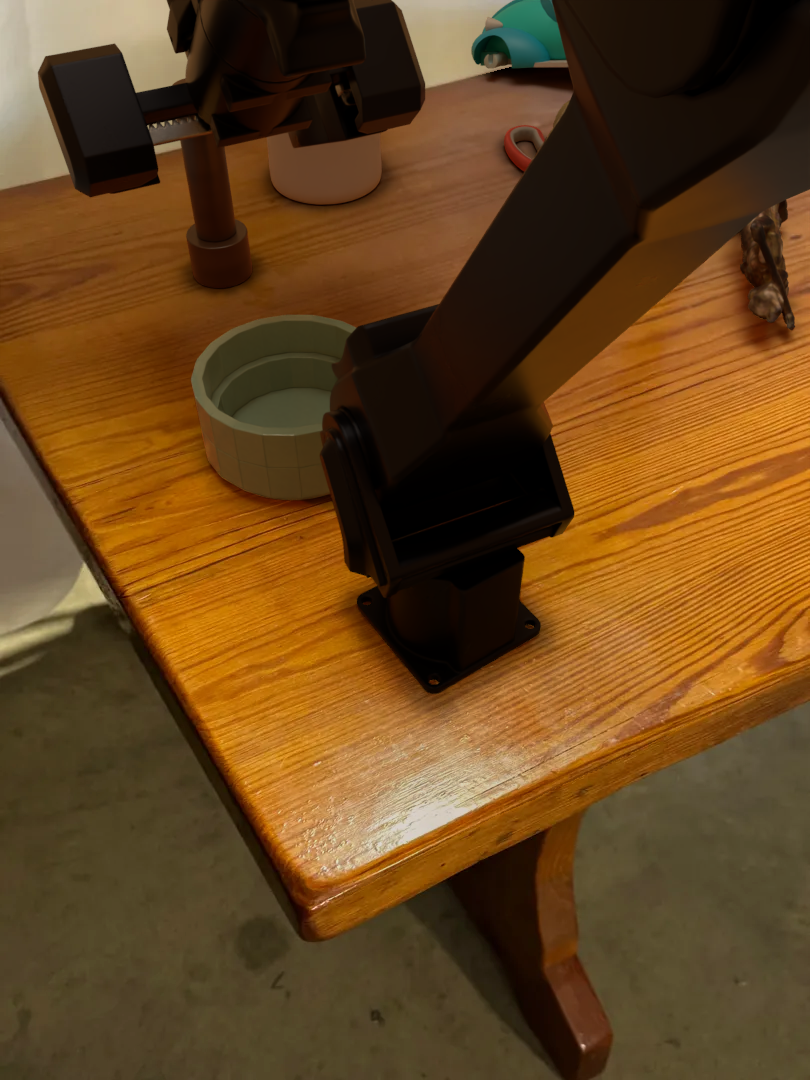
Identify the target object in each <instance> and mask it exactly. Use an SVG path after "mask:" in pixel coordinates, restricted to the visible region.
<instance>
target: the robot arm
mask: <svg viewBox="0 0 810 1080" xmlns="http://www.w3.org/2000/svg"><path fill="white" fill-rule="evenodd" d="M166 3H167V5H168V9H169V10H168V11H169V12H168V18H167V24H166V31H167V34H168V38H169V40H170V43H171V46H172V48H173V49H172V50H173V51H174V53H175V54H183V53H185V57H186V59H187V62H186V64H185V65H186V66H185V77H184V79H185V78H186V83H182V84H177V85H173V84H172V85H168V86H163V87H158V88H152V89H148V90H142V91H138V92H136V88H135V86H134V84H133V80H132V78H131V74H130V71H129V69H128V65H127V63H126V60H125V57H124V55H123V52H122V51H121V49H120V48H119V47H118V45H117V44H116V43H109V44H105V45H98V46H94V47H87V48H82V49H77V50H71V51H66V52H61V53H56V54H55V53H54V54H50V55H45V56H44V58H43V60H42V62H41V64H40V67H39V69H38V71H37V79H38V89H39V92H40V94H41V97H42V99H43V102H44V105H45V108H46V111H47V114H48V116H49V119H50V123H51V125H52V128H53V131H54V134H55V137H56V140H57V142H58V146H59V149H60V150H61V154H62V156H63V159H64V163H65V165H66V167H67V171H68V173H69V176H70V178H71V179H70V180H71V181H72V184H73V187H74V190H76V191H78V192H80V193H81V194H84V196H86V197H89V198H93V197H98V196H102V195H107V194H110V195H114V194H120V193H125V192H129V191H133V190H138V189H141V188H147V187H150V186H155V185H159V184H161V179H160V176H159V164H158V160H157V155H156V149H155V147H157V146H161V145H166V144H170V143H175V142H180V140H185V139H189V138H194V137H199V136H203V135H208V134H212V133H213V136H214V139H215V142H216V145H217V148H221V147H229V146H234V145H239V144H242V143H247V142H252V141H256V140H260V139H265V138H266V139H267V137H270V136H275V135H279V134H284V133H288V135H289V138H290V141H291V144H292V146H293V148H300V147H307V146H314V145H320V144H327V143H335V142H341V141H347V140H352V139H356V138H360V137H365V136H369V135H373V134H378V133H380V134H383V133H385V132H387V131H388V130H391V129H396V128H400V127H404V126H408V125H411V124H412V123H413V121H414V119H415V118H416V117H417V115H418V114H419V113H420V112H421V110H422V107H423V105H424V103H425V101H426V81H425V78H424V75H423V72H422V68H421V66H420V62H419V58H418V56H417V54H416V50H415V47H414V44H413V41H412V38H411V35H410V32H409V28H408V24H407V22H406V19H405V16H404V13H403V10H402V9H401V8H400V6H399V5H397V3H396V2H395V1H393V0H166ZM552 4H553V8H554V12H555V16H556V20H557V24H558V28H559V32H560V36H561V40H562V44H563V48H564V52H565V56H566V60H567V64H568V67H567V68H568V71H569V76H570V79H571V84H572V87H573V89H572V94H571V97H570V99H569V100H570V101H569V100H568V101H569V103H568V105H567V106H566V108H565V109H564V111H563V113H562V114H561V116H560V117H559V119H558V120H557V122H556V123H555V125H554V127H553V126H552V128H551V130H550V131H549V133H548V134H547V136H546V137H545V141H544V142H543V144H542V145H541V147H540V148H539V150H538V151H537V150H536V151H537V152H536V153H535V154H534V156H533V157H532V158H531V159H532V161H531V162H530V164H529V165H528V167H527V168H526V170H525V172H524V171H523V173H522V175H521V176H520V178H519V179H518V181H517V182H516V184H515V185H514V187H513V189H512V190H511V192H510V194H509V195H508V197H507V198H506V199H505V201H504V203H503V204H502V205H501V208H500V209H499V210H498V212H497V213H496V215H495V216H494V218H493V219H492V221H491V223H490V224H489V226H488V227H487V229H486V231H485V232H484V233H483V235H482V237H481V238H480V240H479V242H477V245H476V246H475V247H474V249H473V251H472V252H471V254H470V255H469V257H468V258H467V260H466V261H465V263H464V264H463V266H462V267H461V269H460V271H459V273H458V274H457V275H456V276H455V279H454V280H453V282H452V283H451V285H450V287H449V288H448V290H447V291H446V292H445V294H444V296H443V298H442V299H441V300H440V302H439V303H437V304H433V305H429V306H426V307H423V308H422V307H421V308H419V309H415V310H412V311H408V312H404V313H401V314H397V315H394V316H390V317H386V318H382V319H378V320H375V321H372V322H369V323H368V322H367V323H364V324H361V325H358V326H356V329H355V330H354V331H353V332H352V333H351V334H350V336H349V337H348V338H347V339H346V343H345V347H344V352H343V356H342V359H341V360H340V362H337V363H333V364H331V367H332V371H333V373H334V374H335V376H336V377H337V379H338V380H337V381H336V383H335V384H334V386H333V389H332V391H331V395H330V412H327V413H325V414H324V415H323V418H322V430H323V431H321V432H320V437H321V442H322V446H323V448H322V450H321V452H320V455H319V456H320V461H321V464H322V467H323V471H324V474H325V478H326V481H327V485H328V488H329V492H330V494H329V495H330V499H331V502H332V505H333V509H334V512H335V515H336V520H337V522H338V526H339V530H340V534H341V540H342V548H343V549H342V550H343V562H344V564H345V565H346V568H347V569H348V571H349V572H350V573H354V574H356V575H361V576H365V577H366V579H370V578H371V579H372V580H373V582H374V583H375V585H376V586H375V585H374V586H373V587H371V588H369V589H367V590H366V591H363V592H361V593H360V594H359V595H358V596H357V598H356V609H357V610H358V612H359V613H360V615H361V616H362V617H363V618H364V619H365V620H366V621H367V623H368V624H369V625H370V627H371V628H372V629H373V630H374V632H375V633H376V634H377V635H378V636H379V637H380V638H381V639H382V641H383V642H384V644H385V645H386V646H387V647H388V648H389V650H390V651H391V652H392V653H393V654H394V655H395V657H396V658H397V659H398V660H399V662H401V664H402V665H403V666H404V667H405V669H406V670H407V671H408V672H409V674H411V676H412V677H413V678H414V680H415V681H416V682H417V683H418V684H419V685H420V687H421V688H422V689H423V690H424V691H425V692H426V693H427V694H430V695H438V694H440V693H442V692H444V691H445V690H447V689H449V688H451V687H453V686H454V685H456V684H458V683H459V682H461V681H463V680H464V679H466V678H467V677H469V676H471V675H473V674H475V673H477V672H478V671H480V670H481V669H483V668H485V667H487V666H488V665H490V664H491V663H493V662H495V661H498V660H499V659H500V658H502V657H503V656H505V655H508V654H509V653H510V652H513V651H514V650H515V649H517V648H519V647H521V646H523V645H524V644H526V643H528V642H530V641H531V640H533V639H535V638H536V637H538V636H539V635H540V633H541V628H542V623H541V621H540V619H539V618H538V617H537V616H536V615H535V614H534V613H533V612H532V611H531V610H530V609H529V608H528V607H527V606H526V605H525V603H523V602H522V601H521V592H522V584H523V575H524V567H525V559H526V555H525V554H524V553H523V552H522V551H521V550H520V549H519V548H521V547H524V546H526V545H527V546H528V545H529V544H532V543H535V542H538V541H541V540H543V539H546V538H551V539H553V538H555V537H558V536H560V535H564V532H566V529H567V528H568V527H569V525H570V523H571V522H572V521H573V519H575V518H574V517H575V508H574V505H573V502H572V498H571V495H570V492H569V489H568V486H567V482H566V478H565V476H564V472H563V470H562V466H561V463H560V460H559V456H558V453H557V450H556V446H555V443H554V440H553V437H552V434H551V433H552V430H553V428H554V424H553V422H552V419H551V417H550V414H549V411H548V408H547V406H546V403H545V402H546V400H548V399H549V398H550V397H551V396H552V395H554V394H555V393H556V392H557V391H558V390H560V389H561V387H563V386H564V385H565V384H567V382H568V381H569V380H571V379H572V378H573V377H574V376H576V374H578V373H579V372H580V371H581V370H582V369H584V368H585V367H586V366H587V365H588V364H589V363H590V362H591V361H593V360H594V359H595V358H596V357H597V356H599V355H600V354H601V353H602V352H603V351H604V350H605V349H607V347H608V346H610V345H611V344H612V343H613V342H614V341H616V340H617V339H618V338H619V337H620V336H622V335H623V334H624V333H625V332H626V331H627V330H628V329H629V328H631V327H632V326H633V325H634V324H635V323H636V322H638V321H639V320H640V319H641V318H642V317H643V316H644V315H645V314H646V313H648V312H649V311H650V310H651V309H652V308H654V307H655V306H656V305H657V304H658V303H659V302H660V301H662V300H663V299H665V297H666V296H667V295H669V294H670V293H671V292H672V291H673V290H674V289H675V288H676V287H678V286H679V285H680V284H681V283H682V282H683V281H685V280H686V279H687V278H688V277H689V276H691V274H693V273H694V272H695V271H696V270H697V269H699V267H700V266H702V265H703V264H704V263H705V262H706V261H708V260H709V259H710V258H711V257H712V256H714V254H716V253H717V252H718V251H719V250H720V249H721V248H722V247H724V246H725V245H726V244H727V243H728V242H729V241H731V239H733V238H734V237H735V236H736V235H738V234H739V233H740V231H741V230H742V229H743V228H744V227H745V226H746V225H747V224H749V223H750V222H751V221H752V220H753V219H754V218H756V217H757V216H758V215H759V214H760V213H762V212H763V211H765V210H766V209H768V208H770V207H772V206H774V205H776V204H778V203H780V202H782V201H784V200H788V199H791V198H793V197H796V196H798V195H801V194H802V193H805V192H808V191H810V0H552ZM199 115H200V116H199ZM191 116H195V120H194V119H193V118H192V117H191ZM185 117H187V121H186V120H185V119H184V118H185ZM176 119H180V123H178V122H177V120H176ZM170 122H171V123H170ZM162 123H163V124H164V125H163V124H162ZM154 125H156V126H154ZM365 603H368V604H365ZM527 626H531V627H532V628H529V627H527ZM431 681H436V682H437V683H435V684H434V683H433V684H432V683H430V682H431Z"/></svg>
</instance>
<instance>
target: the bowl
mask: <svg viewBox="0 0 810 1080" xmlns="http://www.w3.org/2000/svg"><path fill="white" fill-rule="evenodd" d="M356 328H357V326H354V325H353V324H350V323H348V322H345V321H343V320H340V319H335V318H330V317H327V316H326V317H325V316H322V315H317V314H288V313H287V314H281V315H275V316H274V315H273V316H268V317H262V318H257V319H254V320H251V321H249V322H246V323H243V324H240V325H238V326H235V327H233V328H231V329H229V330H227V331H226V332H224V333H222V335H220V336H218V337H217V338H216V339H214V340H212V341H211V342H210V343H209V344H208V345H207V346H206V347H205V348H204V349H203V351H202V352H201V354H200V355H199V356H198V357H197V359H196V360H195V363H194V367H193V371H192V374H191V378H190V384H191V388H192V394H193V398H194V402H195V408H196V412H197V417H198V422H199V426H200V431H201V437H202V441H203V446H204V450H205V453H206V454H205V455H206V458H207V461H208V463H209V464H210V465H211V467H212V468H213V469H214V471H216V473H217V474H218V476H220V477H221V478H222V479H223V480H225V481H227V482H228V483H230V484H232V485H233V486H235V487H237V488H239V489H241V490H243V491H244V492H248V493H250V494H252V495H255V496H258V497H262V498H266V499H272V500H280V501H304V500H311V499H316V498H321V497H324V496H329V495H330V492H329V488H328V485H327V481H326V478H325V474H324V471H323V467H322V464H321V461H320V456H319V455H320V452H321V450H322V448H323V446H322V442H321V437H320V432H321V431H323V430H322V418H323V415H324V414H325V413H327V412H330V395H331V391H332V389H333V386H334V384H335V383H336V381H337V380H338V379H337V377H336V376H335V374H334V373H333V371H332V367H331V364H333V363H337V362H340V360H341V359H342V356H343V352H344V347H345V343H346V339H347V338H348V337H349V336H350V334H351V333H352V332H353V331H354V330H355V329H356Z"/></svg>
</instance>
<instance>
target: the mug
mask: <svg viewBox="0 0 810 1080" xmlns="http://www.w3.org/2000/svg"><path fill="white" fill-rule="evenodd" d="M266 145H267V156H268V169H269V176H270V180H271V183H272V185H273V187H274V189H275V190H276V191H277V192H278V193H280V195H282V196H284V197H286V198H287V199H289V200H293V201H295V202H299V203H303V204H309V205H337V204H342V203H347V202H352V201H354V200H358V199H360V198H362V197H363V198H364V196H366V195H368V194H370V193H371V192H372V191H374V189H376V188H377V186H378V185H379V183H380V181H381V179H382V173H383V172H382V171H383V161H382V147H381V146H382V141H381V133H378V134H373V135H369V136H365V137H360V138H356V139H352V140H347V141H341V142H335V143H327V144H320V145H314V146H307V147H300V148H293V146H292V144H291V141H290V138H289V135H288V133H284V134H279V135H275V136H270V137H266Z"/></svg>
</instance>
